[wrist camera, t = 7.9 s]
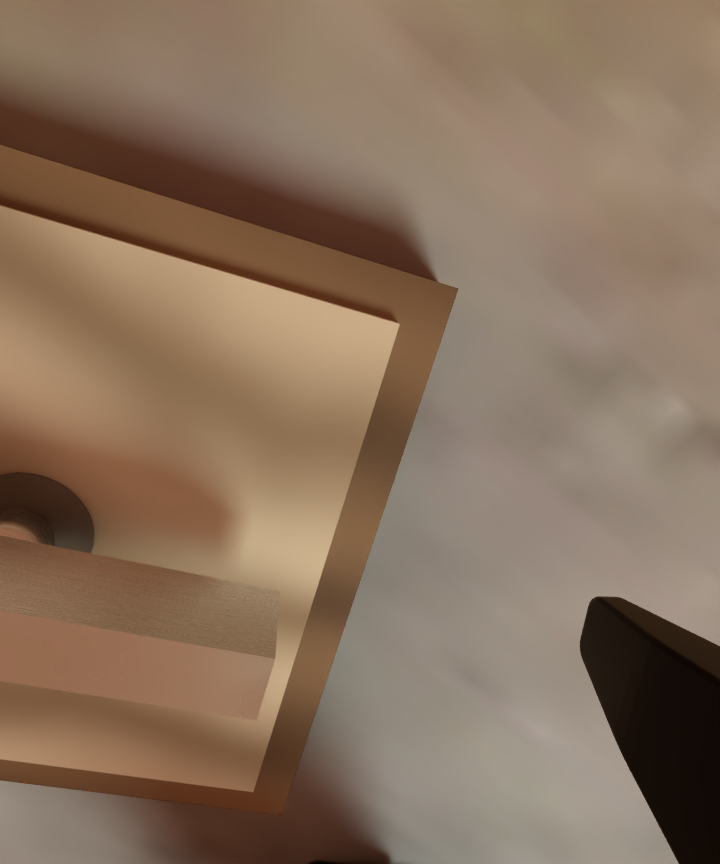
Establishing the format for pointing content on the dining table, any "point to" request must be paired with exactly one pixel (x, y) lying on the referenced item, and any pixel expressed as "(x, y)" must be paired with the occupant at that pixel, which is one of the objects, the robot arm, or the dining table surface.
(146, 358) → the brown square tray
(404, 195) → the dining table surface
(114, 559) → the T-key
